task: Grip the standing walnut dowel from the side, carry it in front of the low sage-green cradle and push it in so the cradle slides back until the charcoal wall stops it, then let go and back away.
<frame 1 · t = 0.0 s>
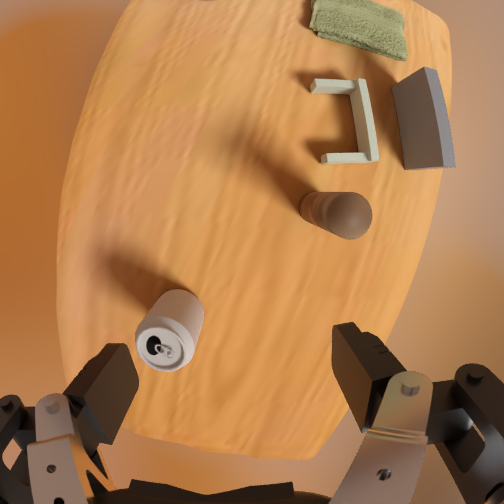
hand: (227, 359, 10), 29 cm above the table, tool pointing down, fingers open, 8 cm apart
can: (181, 309, 41), on the table
cradle: (344, 120, 33), point 2 cm above the table, slide at 0.0 cm
dowel: (314, 207, 38), on the table
washcloth: (357, 25, 32), on the table
wall: (404, 127, 35), on the table
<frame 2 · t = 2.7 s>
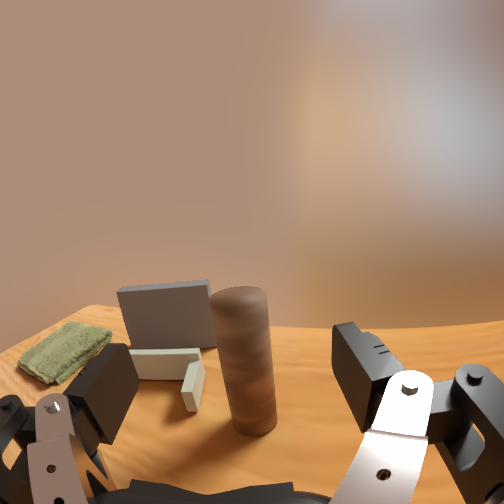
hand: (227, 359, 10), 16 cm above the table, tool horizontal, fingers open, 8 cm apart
cradle: (150, 378, 28), point 2 cm above the table, slide at 0.0 cm
dowel: (255, 421, 24), on the table
washcloth: (67, 358, 37), on the table
wall: (174, 345, 40), on the table
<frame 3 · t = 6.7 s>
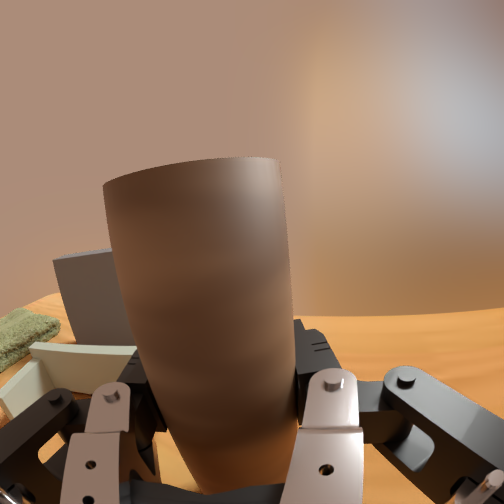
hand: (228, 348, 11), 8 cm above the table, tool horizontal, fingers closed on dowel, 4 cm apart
cradle: (73, 393, 14), point 2 cm above the table, slide at 0.0 cm
dowel: (252, 491, 9), on the table, touching gripper
washcloth: (4, 353, 22), on the table
wall: (133, 342, 26), on the table
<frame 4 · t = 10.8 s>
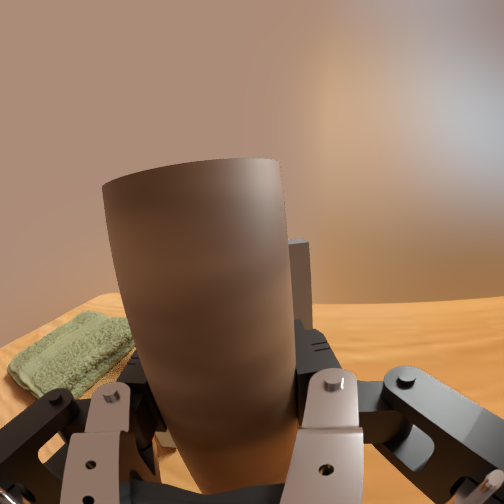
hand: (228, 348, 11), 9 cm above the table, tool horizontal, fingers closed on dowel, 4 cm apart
cradle: (246, 391, 17), point 2 cm above the table, slide at 0.0 cm
dowel: (252, 492, 9), point 2 cm above the table, touching gripper
washcloth: (79, 363, 26), on the table
wall: (247, 337, 29), on the table
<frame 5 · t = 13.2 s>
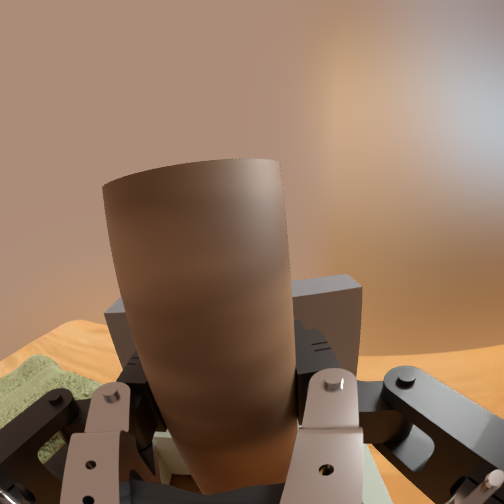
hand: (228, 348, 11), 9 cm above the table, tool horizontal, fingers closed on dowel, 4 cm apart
cradle: (248, 492, 9), point 2 cm above the table, slide at 4.5 cm, touching dowel
dowel: (252, 492, 9), point 2 cm above the table, touching cradle, gripper
washcloth: (24, 431, 13), on the table
wall: (249, 422, 17), on the table
when the fingers open (9 cm above the table, at t = 15.1 s): dowel drops 2 cm, on the table.
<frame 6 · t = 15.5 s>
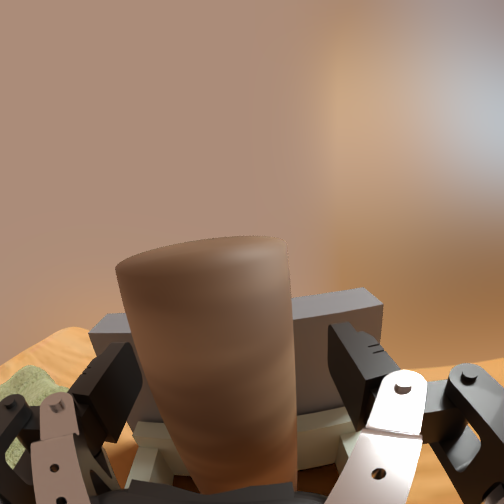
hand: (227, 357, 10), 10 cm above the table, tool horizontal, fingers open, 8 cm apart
cradle: (250, 493, 9), point 2 cm above the table, slide at 6.7 cm
washcloth: (16, 447, 11), on the table
wall: (252, 446, 15), on the table
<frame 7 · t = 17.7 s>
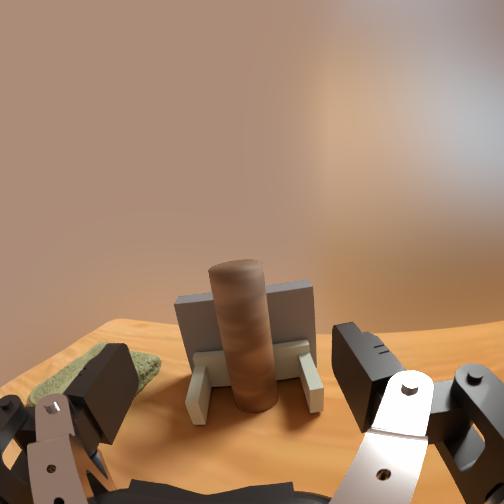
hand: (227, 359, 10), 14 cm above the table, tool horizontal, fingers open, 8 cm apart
cradle: (253, 382, 25), point 2 cm above the table, slide at 6.7 cm
dowel: (256, 398, 25), on the table
washcloth: (96, 395, 27), on the table
wall: (254, 371, 30), on the table
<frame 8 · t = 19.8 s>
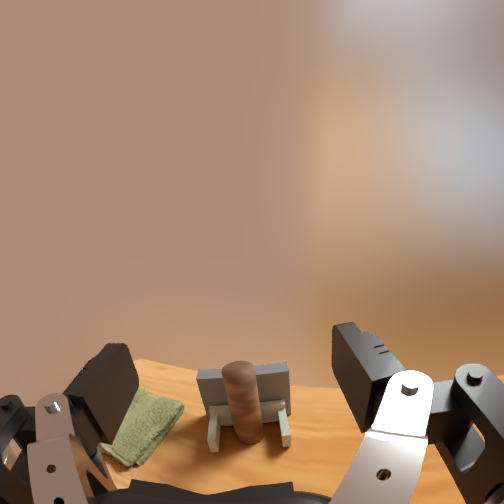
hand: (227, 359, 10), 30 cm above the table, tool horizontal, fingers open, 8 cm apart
cradle: (248, 426, 36), point 2 cm above the table, slide at 6.7 cm
dowel: (250, 434, 37), on the table
washcloth: (138, 430, 38), on the table
wall: (249, 414, 42), on the table
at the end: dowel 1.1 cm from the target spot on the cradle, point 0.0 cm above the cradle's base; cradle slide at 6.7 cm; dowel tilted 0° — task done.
